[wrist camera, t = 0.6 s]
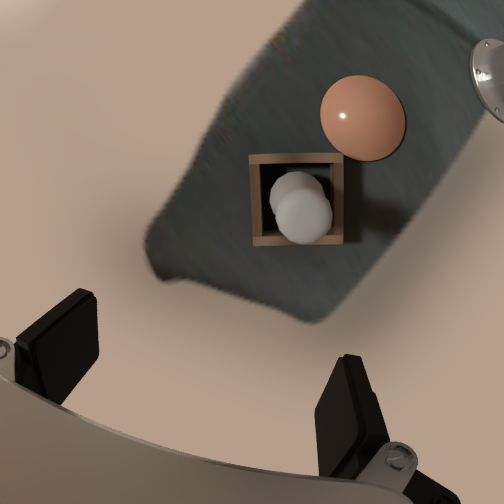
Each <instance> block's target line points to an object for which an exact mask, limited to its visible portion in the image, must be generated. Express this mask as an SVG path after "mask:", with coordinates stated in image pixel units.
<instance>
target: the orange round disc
mask: <svg viewBox="0 0 504 504" xmlns="http://www.w3.org/2000/svg"><path fill="white" fill-rule="evenodd" d="M320 118H321V124H322V128H323V130H324V133H325V135H326V137H327V138H328V140H329V141H330V143H331V144H332V145H333V146H334V147H335V148H336V149H337V150H338V151H339V152H341V153H343V154H344V155H346V156H348V157H350V158H353V159H356V160H361V161H374V160H378V159H381V158H384V157H386V156H388V155H389V154H390V153H392V152H393V151H394V150H395V149H396V148H397V146H398V145H399V143H400V142H401V140H402V137H403V134H404V130H405V116H404V111H403V108H402V105H401V103H400V101H399V99H398V98H397V96H396V95H395V94H394V92H393V91H392V90H391V89H390V88H389V87H388V86H386V85H385V84H384V83H382V82H380V81H378V80H376V79H374V78H371V77H367V76H350V77H346V78H343V79H341V80H339V81H338V82H336V83H335V84H334V85H332V86H331V87H330V89H329V90H328V91H327V93H326V94H325V96H324V98H323V101H322V104H321V110H320Z"/></svg>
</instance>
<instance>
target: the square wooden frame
mask: <svg viewBox="0 0 504 504" xmlns="http://www.w3.org/2000/svg"><path fill="white" fill-rule="evenodd" d="M272 163H329V169H330V207H331V210H332V213H333V214H332V222H331V228H330V229H329V230H328V232H327V233H326V235H325V236H324V237H323V238H322V239H320V240H318V241H317V242H315V243H313V244H298V243H295V242H292V241H289V240H288V239H287V237H286V236H285V235H284V234H283V233H282V232H281V231H280V230H264V224H263V201H262V179H261V164H272ZM249 172H250V191H251V211H252V231H253V246H278V245H326V244H343V226H344V170H343V153H280V154H254V155H249Z"/></svg>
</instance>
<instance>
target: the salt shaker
mask: <svg viewBox="0 0 504 504" xmlns="http://www.w3.org/2000/svg"><path fill="white" fill-rule="evenodd" d="M269 202H270V205H271V207H272V210H273V213H274V214H275V215H276V218H275V219H276V222H277V224H278V227H279V230H280V231H281V232H282V233H283V234H284V235H285V236H286V237H287V239H288V240H289V241H292V242H295V243H298V244H313V243H315V242H317V241H318V240H320V239H322V238H323V237H324V236H325V235H326V233H327V232H328V230H329V229H330V228H331V222H332V214H333V213H332V210H331V207H330V203H329V201H328V200H327V199H326V198H325V194H324V191H323V188H322V185H321V184H320V183H319V182H318V181H317V180H316V179H315V178H314V177H313V176H312V175H309V174H307V173H304V172H302V171H298V172H289V173H287V174H285V175H283V176H282V177H280V178H278V179H277V181H276V182H275V184H274V185H273V187H272V189H271V193H270V201H269Z"/></svg>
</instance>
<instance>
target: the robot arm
mask: <svg viewBox="0 0 504 504" xmlns="http://www.w3.org/2000/svg"><path fill="white" fill-rule="evenodd" d="M470 73H471V77H472V81H473V84H474V87H475V90H476V92H477V94H478V96H479V98H480V100H481V101H482V103H483V105H484V106H485V108H486V109H487V110H488V111H489V112H490V113H491V114H492V115H493V116H494V117H495V118H496V119H497V120H499V121H500V122H502V123H504V42H502V41H500V40H497V39H490V38H488V39H484V40H482V41H480V42H478V43H477V44H476V45H475V46H474V48H473V50H472V51H471V56H470ZM97 322H98V321H97V299H96V297H94V294H93V293H92V292H90V291H87V290H85V289H81V288H79V289H77V290H76V291H74V292H73V293H72V294H70V295H69V296H68V297H66V298H65V299H64V300H62V301H61V302H60V303H59V304H57V305H56V306H55V307H53V308H52V309H51V310H50V311H48V312H47V313H46V314H45V315H43V316H42V317H41V318H39V319H38V320H37V321H36V322H34V323H33V324H32V325H31V326H30V327H28V328H27V329H26V330H25V331H23V332H22V333H21V334H20V335H18V336H17V337H16V340H17V341H16V342H15V343H14V344H13V343H12V342H11V341H10V340H8V339H6V338H2V337H0V504H461V503H460V500H459V498H458V497H457V495H456V494H454V493H453V492H452V491H450V490H448V489H447V488H445V487H444V486H442V485H440V484H439V483H437V482H435V481H434V480H432V479H431V478H429V477H427V476H426V475H424V474H423V473H421V472H420V471H418V470H416V468H417V465H418V458H417V455H416V453H415V452H414V451H413V449H412V448H410V447H409V446H408V445H406V444H403V443H401V442H390V438H389V435H388V432H387V428H386V425H385V422H384V419H383V415H382V412H381V409H380V406H379V403H378V400H377V397H376V394H375V393H374V392H373V391H372V389H371V386H370V383H369V380H368V377H367V374H366V371H365V368H364V365H363V362H362V359H361V357H360V356H355V355H350V354H345V355H344V356H343V357H339V358H338V360H337V363H336V365H335V367H334V370H333V372H332V374H331V376H330V378H329V380H328V383H327V385H326V387H325V389H324V391H323V393H322V396H321V398H320V400H319V402H318V404H317V406H316V408H315V427H316V439H317V453H318V467H319V476H310V475H300V474H291V473H284V472H276V471H270V470H263V469H257V468H250V467H245V466H240V465H234V464H230V463H225V462H220V461H216V460H211V459H207V458H203V457H199V456H195V455H191V454H187V453H184V452H180V451H177V450H173V449H170V448H167V447H163V446H160V445H157V444H154V443H151V442H148V441H145V440H142V439H139V438H136V437H133V436H130V435H128V434H125V433H122V432H120V431H117V430H114V429H112V428H109V427H107V426H104V425H102V424H99V423H97V422H95V421H92V420H90V419H88V418H86V417H83V416H81V415H79V414H77V413H75V412H72V411H70V410H68V409H66V408H64V407H62V406H61V404H62V403H63V402H64V400H65V399H66V398H67V397H68V395H69V394H70V393H71V391H72V390H73V389H74V388H75V386H76V385H77V384H78V382H79V381H80V380H81V379H82V377H83V376H84V375H85V374H86V372H87V371H88V370H89V369H90V368H91V366H92V365H93V364H94V363H95V361H96V360H97V359H98V356H99V341H98V323H97Z"/></svg>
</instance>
